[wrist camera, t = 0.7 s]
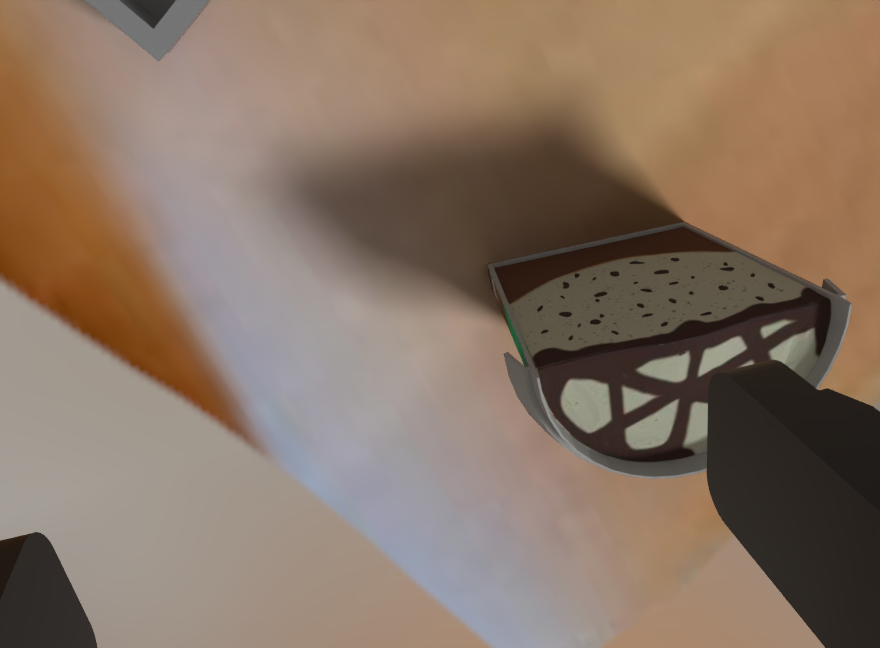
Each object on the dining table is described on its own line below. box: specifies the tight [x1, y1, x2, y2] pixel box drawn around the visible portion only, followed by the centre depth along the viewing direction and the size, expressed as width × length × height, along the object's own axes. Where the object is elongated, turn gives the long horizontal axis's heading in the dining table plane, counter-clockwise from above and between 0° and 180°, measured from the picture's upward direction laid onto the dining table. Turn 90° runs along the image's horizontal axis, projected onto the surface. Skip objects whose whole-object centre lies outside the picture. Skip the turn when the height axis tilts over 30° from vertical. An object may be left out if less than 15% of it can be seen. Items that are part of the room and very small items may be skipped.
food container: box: [487, 222, 852, 479], centre depth 31 cm, size 12×6×10 cm, turn 99°
